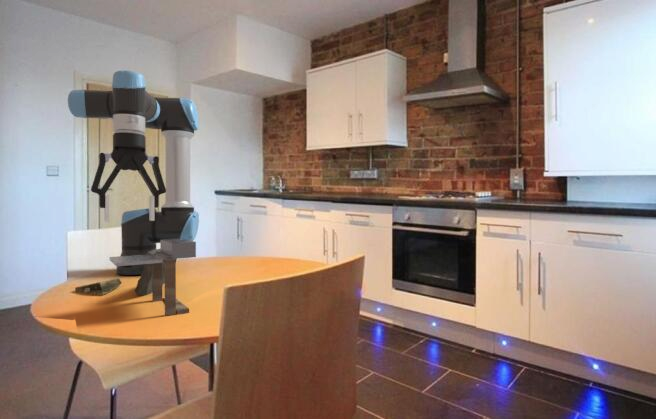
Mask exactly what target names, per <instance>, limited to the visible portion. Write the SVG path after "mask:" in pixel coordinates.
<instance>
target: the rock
mask: <svg viewBox="0 0 656 419" xmlns="http://www.w3.org/2000/svg"><path fill="white" fill-rule="evenodd" d="M120 285H122V280H121V279H120V278H117V277H116V278H112V279H109V280H103V281H102V280H101V281H99V282H95V283H93V282H92V283H89V284H85V285H80V286H76V287H75V290H74V292H75V293H80V294H86V295H91V296H98V297H99V296H102V297H103V296H104V295H107V294H109V293H111V292H112V291H113V290H115V289H117V288H118V287H119V286H120Z"/></svg>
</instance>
